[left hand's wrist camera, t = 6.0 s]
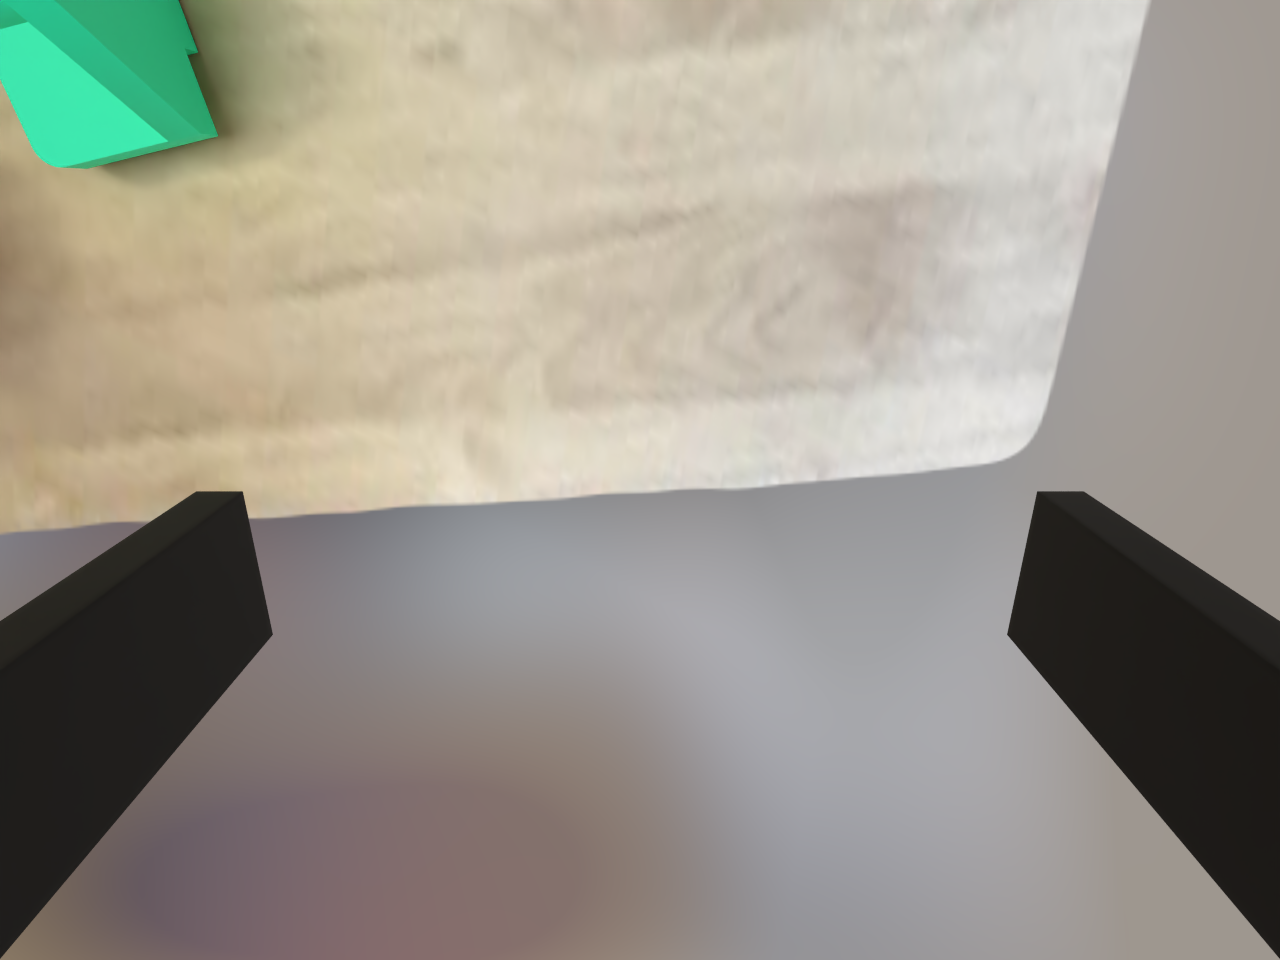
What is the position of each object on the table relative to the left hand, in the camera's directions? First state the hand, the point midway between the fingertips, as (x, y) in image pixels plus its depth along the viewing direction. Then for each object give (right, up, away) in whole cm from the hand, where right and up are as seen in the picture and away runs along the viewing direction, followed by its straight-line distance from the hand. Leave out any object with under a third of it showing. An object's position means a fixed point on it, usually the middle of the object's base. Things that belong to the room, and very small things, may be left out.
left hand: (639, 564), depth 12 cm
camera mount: (-25, +23, +21) cm, 40 cm away
